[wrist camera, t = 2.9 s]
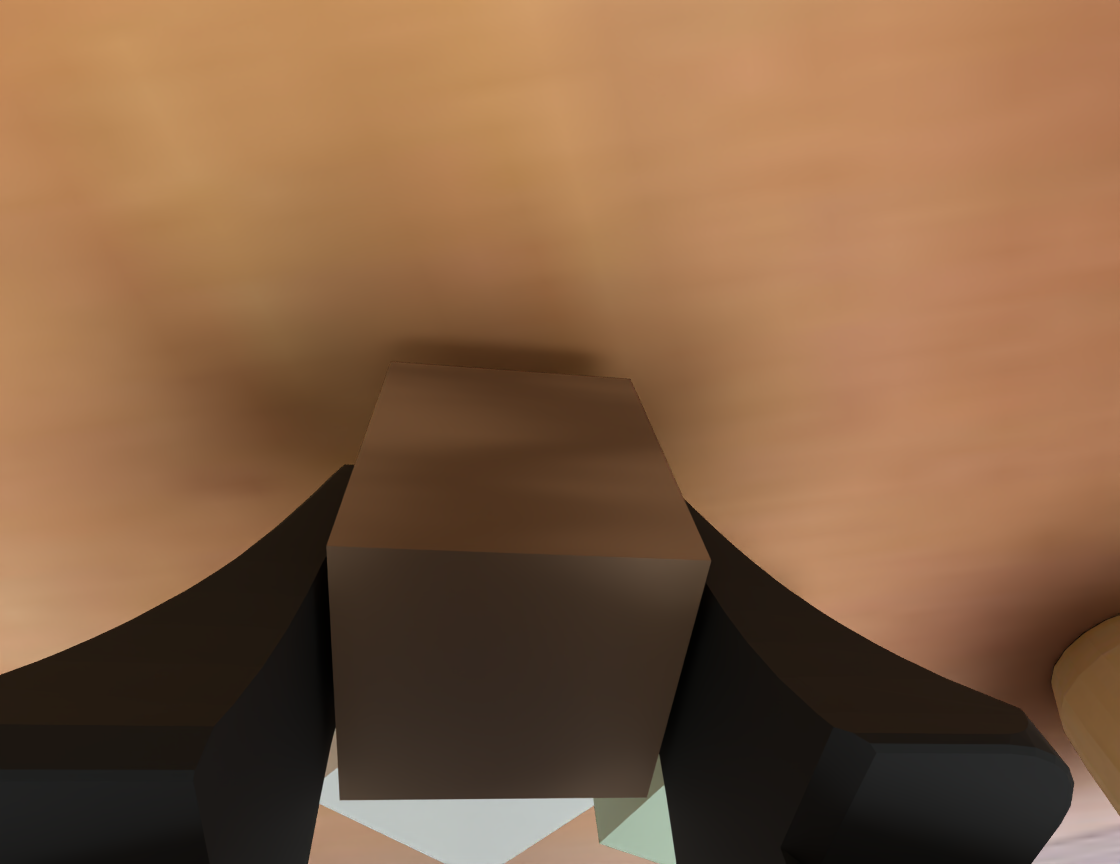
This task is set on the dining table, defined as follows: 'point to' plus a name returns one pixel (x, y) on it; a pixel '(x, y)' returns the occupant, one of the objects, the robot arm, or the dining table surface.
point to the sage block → (638, 823)
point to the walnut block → (508, 590)
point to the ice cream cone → (1093, 703)
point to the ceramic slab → (456, 821)
